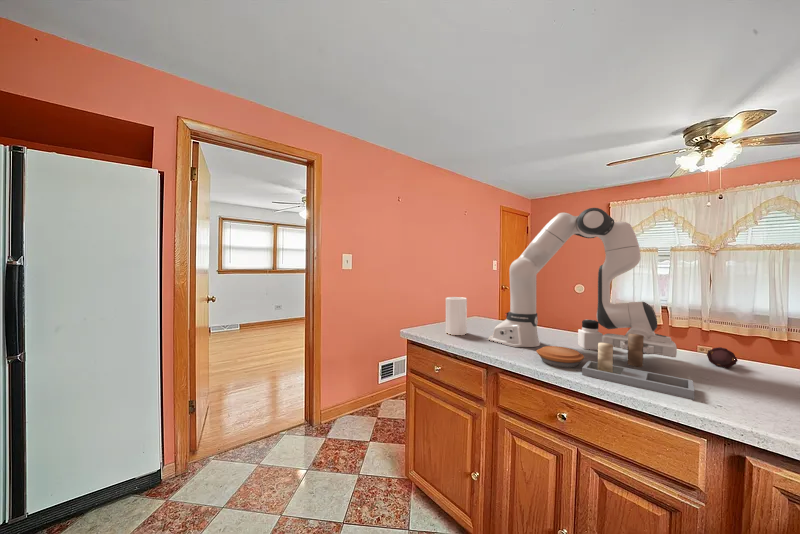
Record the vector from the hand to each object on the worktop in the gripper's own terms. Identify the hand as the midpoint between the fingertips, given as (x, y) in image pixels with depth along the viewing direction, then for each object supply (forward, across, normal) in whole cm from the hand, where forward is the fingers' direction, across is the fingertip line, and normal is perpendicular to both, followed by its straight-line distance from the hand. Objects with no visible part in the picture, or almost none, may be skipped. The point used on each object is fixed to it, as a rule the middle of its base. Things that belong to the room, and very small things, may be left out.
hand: (635, 348), depth 99 cm
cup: (-9, -74, +10) cm, 75 cm away
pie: (+5, -21, +9) cm, 24 cm away
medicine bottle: (-26, -17, +9) cm, 32 cm away
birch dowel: (+9, -7, +8) cm, 14 cm away
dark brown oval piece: (-30, +22, +8) cm, 38 cm away
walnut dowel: (-1, 0, +6) cm, 6 cm away
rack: (+9, +1, +8) cm, 12 cm away
